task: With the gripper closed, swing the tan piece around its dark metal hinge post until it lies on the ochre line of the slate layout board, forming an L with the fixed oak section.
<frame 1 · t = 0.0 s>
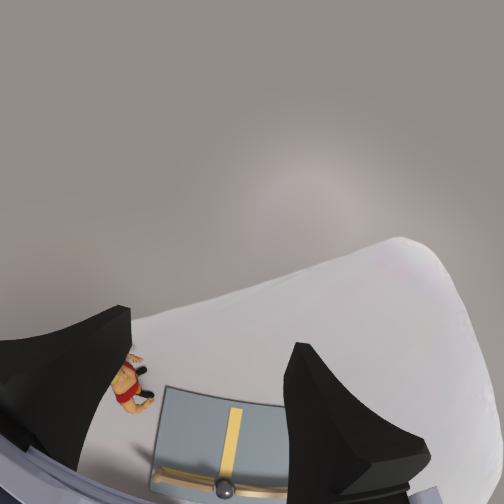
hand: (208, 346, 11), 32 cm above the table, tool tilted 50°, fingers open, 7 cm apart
fixed fence section: (183, 481, 27), on the layout board, point 3 cm above the table
layout board: (241, 458, 32), on the table
hinge post: (224, 488, 27), on the layout board, point 3 cm above the table
tan piece: (277, 492, 28), point 3 cm above the table, hinge at 0.0°
portable speaker: (9, 495, 16), on the table
action figure: (143, 383, 37), on the table
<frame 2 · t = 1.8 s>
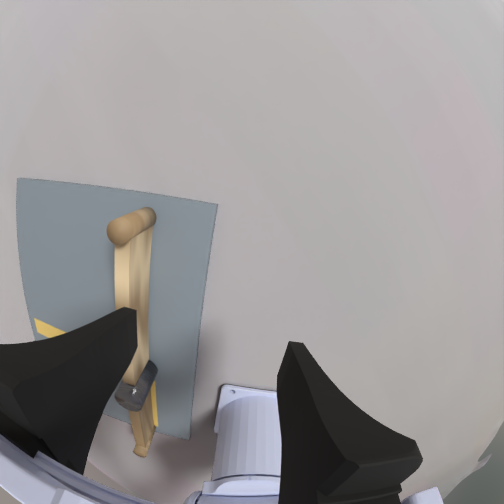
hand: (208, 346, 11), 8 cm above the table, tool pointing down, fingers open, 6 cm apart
fixed fence section: (141, 422, 21), on the layout board, point 3 cm above the table
layout board: (98, 332, 21), on the table
hinge post: (137, 383, 19), on the layout board, point 3 cm above the table
tan piece: (131, 306, 17), point 3 cm above the table, hinge at 0.0°
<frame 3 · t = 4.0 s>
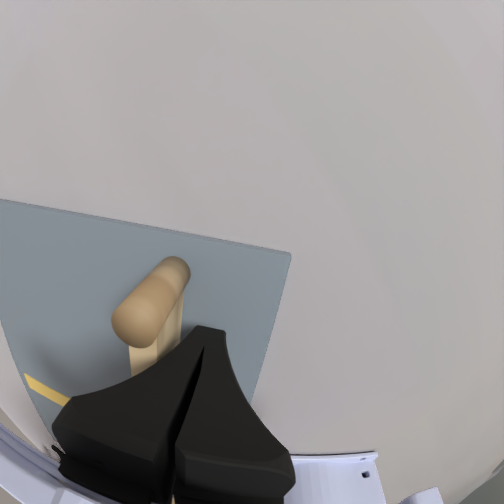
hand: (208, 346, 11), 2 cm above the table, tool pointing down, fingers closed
layout board: (105, 400, 15), on the table
tan piece: (157, 400, 11), point 3 cm above the table, hinge at 0.0°, touching gripper
action figure: (69, 452, 20), on the table
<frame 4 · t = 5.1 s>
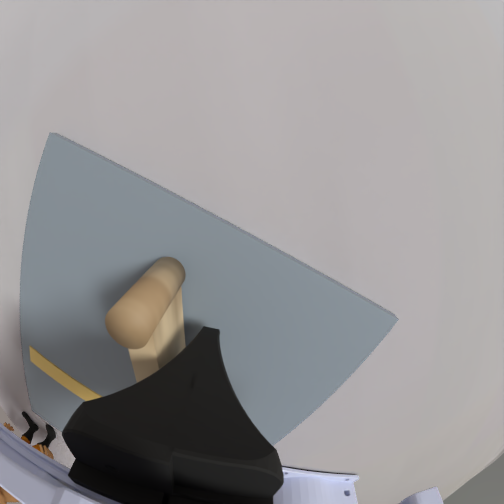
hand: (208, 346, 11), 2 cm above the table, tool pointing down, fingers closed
layout board: (135, 398, 14), on the table
tan piece: (169, 404, 11), point 3 cm above the table, hinge at 25.7°, touching gripper
action figure: (41, 423, 18), on the table
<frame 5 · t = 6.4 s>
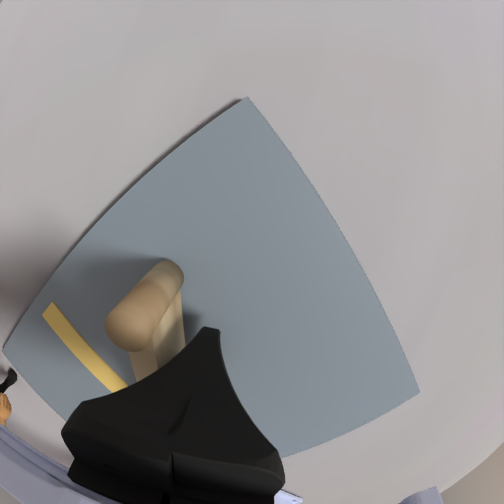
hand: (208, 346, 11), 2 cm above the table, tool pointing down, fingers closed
layout board: (165, 395, 14), on the table
tan piece: (170, 406, 11), point 3 cm above the table, hinge at 52.4°, touching gripper
action figure: (2, 363, 16), on the table
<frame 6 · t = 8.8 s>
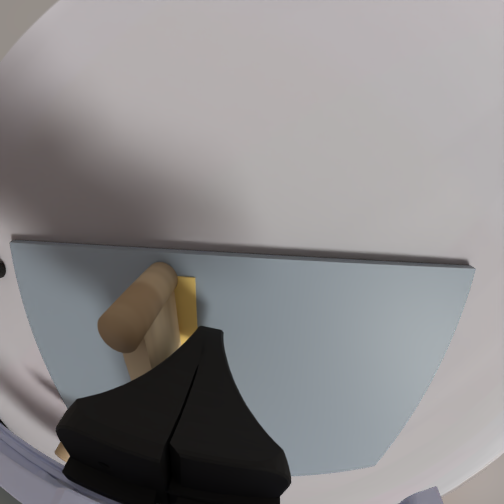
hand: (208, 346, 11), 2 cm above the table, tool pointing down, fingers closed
layout board: (224, 405, 14), on the table
tan piece: (167, 406, 11), point 3 cm above the table, hinge at 92.0°, touching gripper
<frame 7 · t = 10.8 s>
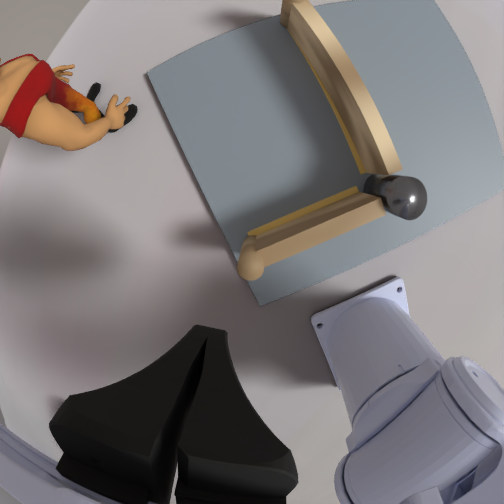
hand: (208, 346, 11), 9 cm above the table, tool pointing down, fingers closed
fixed fence section: (309, 230, 16), on the layout board, point 3 cm above the table
layout board: (373, 115, 16), on the table
hinge post: (392, 193, 15), on the layout board, point 3 cm above the table
tan piece: (339, 75, 13), point 3 cm above the table, hinge at 92.1°
action figure: (109, 109, 16), on the table
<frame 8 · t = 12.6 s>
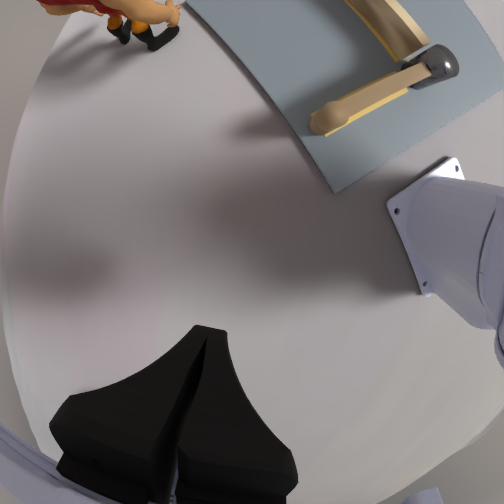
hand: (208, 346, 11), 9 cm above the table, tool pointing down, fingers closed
fixed fence section: (372, 94, 13), on the layout board, point 3 cm above the table
layout board: (390, 21, 13), on the table
hinge post: (428, 68, 12), on the layout board, point 3 cm above the table
action figure: (147, 35, 15), on the table
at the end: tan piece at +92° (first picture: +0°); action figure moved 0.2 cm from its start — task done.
